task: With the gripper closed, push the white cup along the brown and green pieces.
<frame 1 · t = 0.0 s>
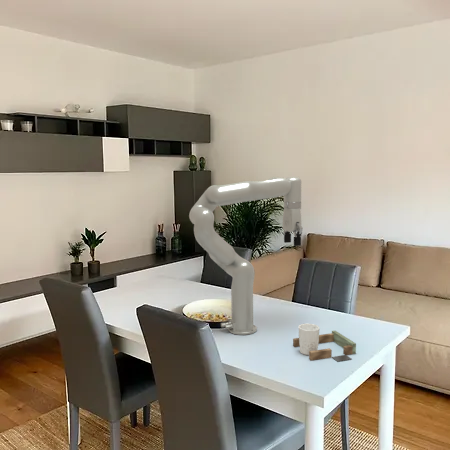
hand: (292, 244, 205), 37 cm above the table, tool pointing down, fingers open, 9 cm apart
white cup: (308, 352, 178), on the table
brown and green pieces: (322, 349, 180), on the table
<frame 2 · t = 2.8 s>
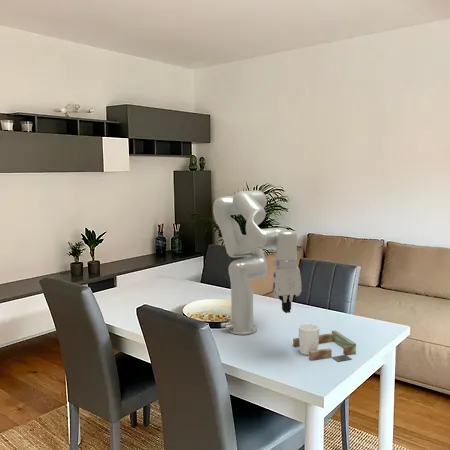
hand: (286, 311, 173), 17 cm above the table, tool pointing down, fingers closed
nothing on the table moved.
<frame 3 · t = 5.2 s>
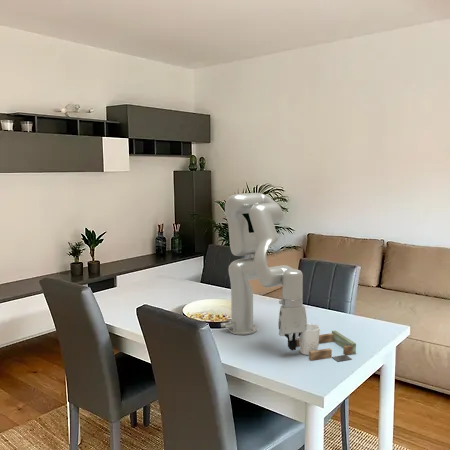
hand: (292, 348, 176), 2 cm above the table, tool pointing down, fingers closed
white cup: (308, 352, 178), on the table, touching gripper
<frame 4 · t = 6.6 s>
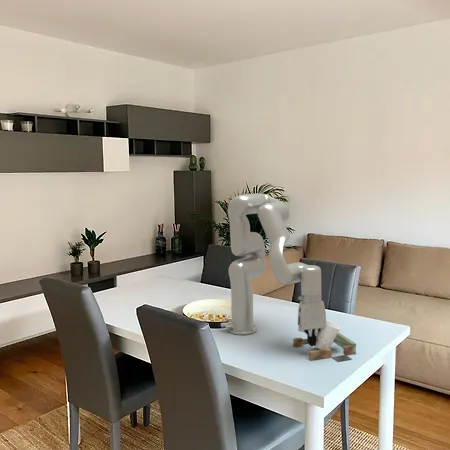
hand: (311, 344, 177), 3 cm above the table, tool pointing down, fingers closed
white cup: (319, 347, 179), point 1 cm above the table, touching gripper
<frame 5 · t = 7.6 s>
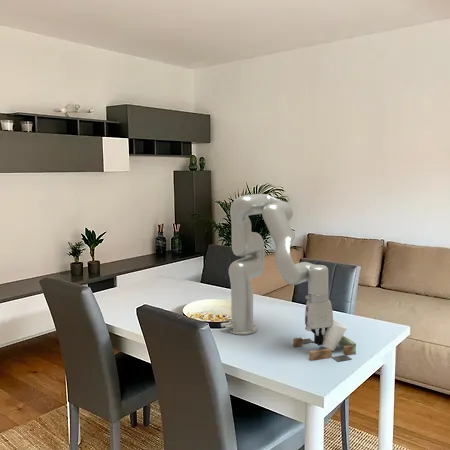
hand: (318, 343, 178), 3 cm above the table, tool pointing down, fingers closed
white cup: (326, 346, 180), point 1 cm above the table, touching gripper
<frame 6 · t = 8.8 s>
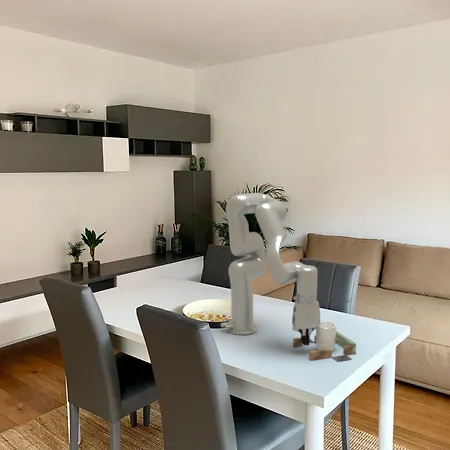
hand: (305, 344, 178), 3 cm above the table, tool pointing down, fingers closed
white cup: (325, 349, 180), on the table
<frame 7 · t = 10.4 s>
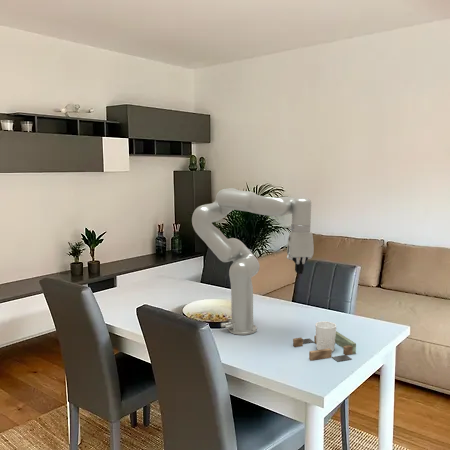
hand: (299, 272, 189), 28 cm above the table, tool pointing down, fingers closed
nothing on the table moved.
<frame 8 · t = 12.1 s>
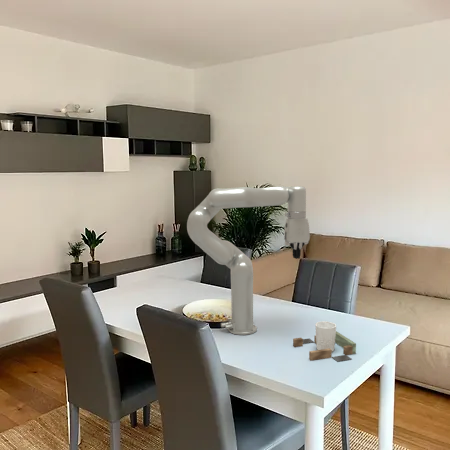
hand: (296, 258, 197), 32 cm above the table, tool pointing down, fingers closed
nothing on the table moved.
at the end: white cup inside the target area (3.7 cm from its centre), on the table; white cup tilted 0°; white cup moved 7.3 cm from its start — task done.
